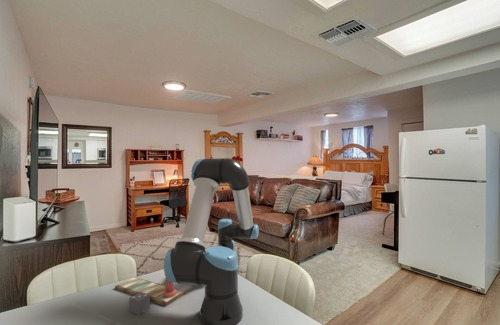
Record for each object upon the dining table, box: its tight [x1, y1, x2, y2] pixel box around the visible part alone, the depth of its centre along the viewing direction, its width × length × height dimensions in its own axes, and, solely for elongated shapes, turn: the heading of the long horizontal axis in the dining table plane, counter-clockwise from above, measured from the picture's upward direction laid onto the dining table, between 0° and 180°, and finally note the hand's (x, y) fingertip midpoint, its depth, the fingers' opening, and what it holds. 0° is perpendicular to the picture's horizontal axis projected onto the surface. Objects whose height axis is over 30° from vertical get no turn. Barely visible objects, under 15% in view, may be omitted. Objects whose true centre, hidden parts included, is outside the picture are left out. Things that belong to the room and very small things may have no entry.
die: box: [128, 292, 151, 316], centre depth 93 cm, size 5×5×5 cm
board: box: [114, 276, 185, 307], centre depth 107 cm, size 30×10×1 cm, turn 63°
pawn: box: [163, 277, 177, 298], centre depth 101 cm, size 5×5×12 cm
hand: (186, 269), depth 110 cm, fingers open, 13 cm apart
